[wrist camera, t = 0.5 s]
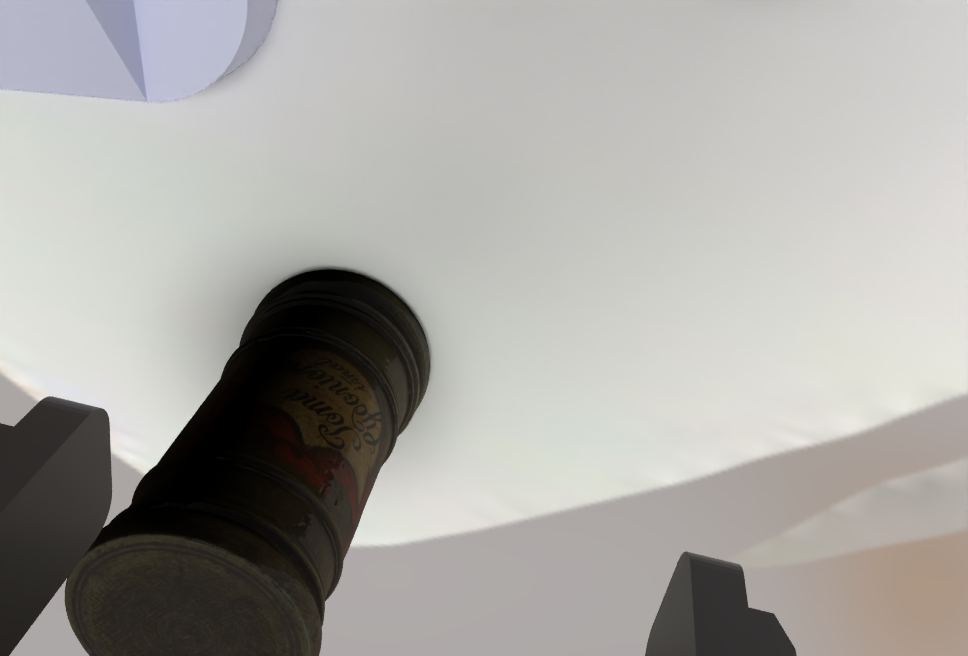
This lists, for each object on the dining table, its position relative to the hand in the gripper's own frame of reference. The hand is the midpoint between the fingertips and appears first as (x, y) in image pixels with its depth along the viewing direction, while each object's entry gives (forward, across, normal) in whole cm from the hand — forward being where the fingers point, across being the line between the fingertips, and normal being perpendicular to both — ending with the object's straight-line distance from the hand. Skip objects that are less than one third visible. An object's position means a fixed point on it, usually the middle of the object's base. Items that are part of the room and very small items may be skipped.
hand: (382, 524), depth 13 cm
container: (+28, +7, +16) cm, 33 cm away
